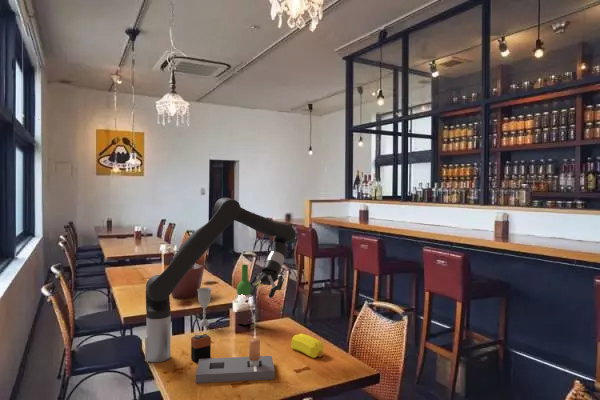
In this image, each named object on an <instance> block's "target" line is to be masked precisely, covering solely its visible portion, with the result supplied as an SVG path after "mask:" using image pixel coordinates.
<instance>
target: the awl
mask: <svg viewBox="0 0 600 400" xmlns="http://www.w3.org/2000/svg"><path fill="white" fill-rule="evenodd" d="M248 344H249V346H248V349H249V351H248V357H249V359H250V367H254V366H256V367H259V359H260V356H261V355H260V354H261V339H260V338H257V337H255V338H250V339H249V340H248Z"/></svg>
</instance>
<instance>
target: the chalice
mask: <svg viewBox="0 0 600 400" xmlns="http://www.w3.org/2000/svg"><path fill="white" fill-rule="evenodd" d="M212 290H213V289H212V288H210V287H200V288H199V289H197V291H198V296H197V298H198V299H197V300H198V303H199V305H200V307H201V308H202V310H203V311H202V313H203V314H202V317H203V318H202V319H201V320H200V322H199V324H198V326H199V327H204V328H205V327H208V326H210V323H209V321H208V319H206V316H207V315H206V312H207V311H206V308H208V307H209V304H210V301H211V297H212V295H211V293H212Z"/></svg>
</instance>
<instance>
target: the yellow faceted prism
mask: <svg viewBox="0 0 600 400" xmlns="http://www.w3.org/2000/svg"><path fill="white" fill-rule="evenodd" d="M290 347H291V348H292V349H293V350H294V351H297V352H300V353H302V354H304V355H307V356H308V357H310V358H312V359H315V358H317V357H318V358H321V357H322V356H324V354H325V353H324V351H325V350H324V345H323V342H322V341H320V340H319V339H316V338H315V337H313V336H312V335H309V334H304V333H302V332H301V333H300V332H299V334H295V335H294V336H293V337H292V339H291V344H290Z"/></svg>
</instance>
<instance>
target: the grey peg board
mask: <svg viewBox="0 0 600 400" xmlns="http://www.w3.org/2000/svg"><path fill="white" fill-rule="evenodd" d="M275 372H276V371H275V366H274V361H273V356H272V355H260V359H259V367H256V366H254V367H250V359H249V356H236V357H235V356H234V357H215V358H214V357H213V358H212V357H211V358H208V359H199V362H197V367H196V373H195V383H196V384H205V383H222V382H223V383H224V382H242V381H246V382H247V381H262V380H275V379H276V377H275V376H276V375H275Z"/></svg>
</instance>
